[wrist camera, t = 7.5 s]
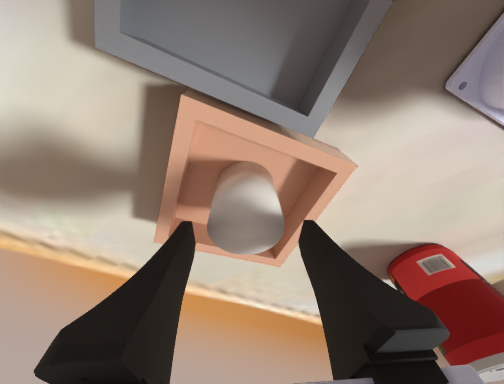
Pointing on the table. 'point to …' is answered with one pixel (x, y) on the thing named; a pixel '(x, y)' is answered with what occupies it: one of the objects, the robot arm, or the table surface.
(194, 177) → the dump bin
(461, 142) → the table surface
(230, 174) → the white rounded cylinder
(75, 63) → the table surface
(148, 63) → the bin
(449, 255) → the canned food
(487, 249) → the table surface
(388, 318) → the robot arm
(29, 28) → the table surface
